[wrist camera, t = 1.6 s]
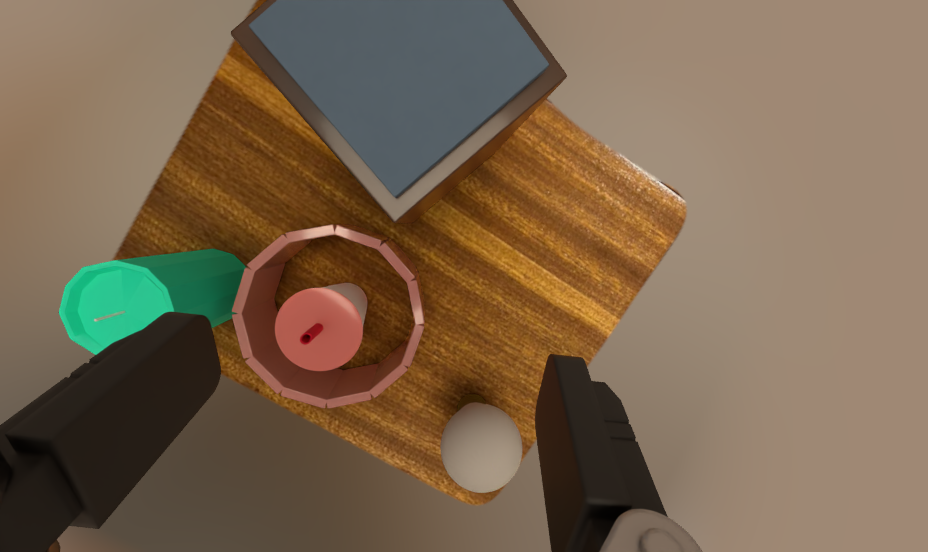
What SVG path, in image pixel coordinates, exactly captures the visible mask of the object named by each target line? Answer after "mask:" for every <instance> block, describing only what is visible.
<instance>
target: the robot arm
mask: <svg viewBox="0 0 928 552" xmlns="http://www.w3.org/2000/svg"><path fill="white" fill-rule="evenodd" d="M220 375H221V366H220V362H219V357H218V353H217V349H216V344H215V340H214V336H213V331H212V327H211V323H210V321H209V319H208V318H207V317H206V316H204V315H198V314H189V313H180V312H166V313H164V314H162V315H161V316H159V317H158V318H157V319H156V320H154V321H153V322H152V323H150V324H149V325H148V326H146V327H145V328H144V329H142V330H141V331H138V332H135V333H133V334H131V335H129V336H127V337H125V338H122V339H120V340H118V341H116V342H114V343H112V344H110V345H109V346H108V347H106V348H105V349H104V350H102V351H101V352H99V353H98V354H97V355H95V356H94V357H93V358H91V359H90V362H89V363H84V364H83V365H82V366H80V367H79V368H78V369H76V370H75V371H74V372H72V373H71V376H70V377H69V378H67V377H65V378H64V379H63V380H61V381H60V382H59V383H57V384H56V385H55V386H53V387H52V388H51V389H49V390H48V391H46V392H45V393H44V394H42V395H41V396H40V397H38V398H37V399H36V400H34V401H33V402H31V403H30V404H29V405H27V406H26V407H25V408H23V409H22V410H20V411H19V412H18V413H16V414H15V415H14V416H12V417H11V418H9V419H8V420H7V421H6V422H4V423H3V424H1V425H0V552H60V545H59V542H58V541H57V538H58V537H59V536H60V535H61V534H62V533H63V532H64V531H65V530H66V529H67V527H68V526H77V527H86V528H95V529H99V528H100V527H101V526H102V524H103V523H104V522H105V521H106V520H107V519H108V517H109V516H110V515H111V514H112V513H113V511H114V510H115V509H116V508H117V507H118V505H119V504H120V503H121V502H122V501H123V500H124V498H125V497H126V496H127V495H128V494H129V492H130V491H131V490H132V489H133V488H134V487H135V485H136V484H137V483H138V482H139V481H140V479H141V478H142V477H143V476H144V475H145V473H146V472H147V471H148V470H149V469H150V467H151V466H152V465H153V464H154V463H155V462H156V460H157V459H158V458H159V457H160V456H161V454H162V453H163V452H164V451H165V450H166V449H167V447H168V446H169V445H170V444H171V443H172V441H173V440H174V439H175V438H176V437H177V436H178V434H179V433H180V432H181V431H182V430H183V428H184V427H185V426H186V425H187V423H188V422H189V421H190V420H191V419H192V418H193V417H194V415H195V414H196V413H197V412H198V411H199V409H200V408H201V407H202V406H203V405H204V403H205V402H206V401H207V400H208V399H209V398H210V396H211V395H212V394H213V393H214V391H215V389H216V387H217V385H218V383H219V379H220ZM535 429H536V437H537V445H538V452H539V460H540V467H541V475H542V482H543V490H544V498H545V505H546V513H547V521H548V528H549V536H550V543H551V550H552V552H702V550H701V549H700V547H699V546H698V544H697V543H696V541H695V540H694V539H693V538H692V537H691V536H690V535H689V534H688V532H687V531H685V530H684V529H683V528H682V527H681V526H680V525H678V524H677V523H676V522H674V521H673V520H671V519H670V518H668V516H667V514H666V512H665V510H664V508H663V505H662V502H661V500H660V497H659V495H658V492H657V490H656V488H655V485H654V482H653V480H652V477H651V475H650V472H649V470H648V467H647V465H646V462H645V460H644V457H643V455H642V452H641V450H640V447H639V445H638V442H636V441H635V438H636V437H635V435H634V432H633V430H632V427H631V425H630V424H629V420H628V417H627V415H626V412H625V410H624V407H623V405H622V402H621V400H620V399H619V398H618V397H617V396H616V395H615V393H614V392H613V391H612V390H611V389H610V388H609V387H608V385H607V384H606V383H604V382H595V381H591V378H590V375H589V372H588V369H587V366H586V363H585V361H584V359H583V358H581V357H572V356H563V355H554V354H550V355H549V357H548V359H547V362H546V367H545V371H544V375H543V379H542V383H541V387H540V391H539V396H538V400H537V405H536V413H535Z"/></svg>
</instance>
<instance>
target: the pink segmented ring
mask: <svg viewBox="0 0 928 552" xmlns="http://www.w3.org/2000/svg"><path fill="white" fill-rule="evenodd" d="M334 235H337V236H340V237H343V238H346V239H348V240H351V241H354V242H357V243H360V244H363V245H366V246H369V247H371V248H374V249H377V250H378V251H379V252H380V253H381V254H382V255H383V256H384V257H385V259H386V260H387V261H388V262H389V263H390V264H391V265H392V267H393V268H394V269H395V270H396V271H397V272H398V273H399V274H400V276H401V277H402V278H403V279H404V280H405V281H406V282H407V286H408V291H409V296H410V301H411V306H412V311H413V316H414V318H413V321H412V324H411V326H410V329H409V332H408V335H407V338H406V340H405V341H404V342H403V343H402V344H401V345H400V346H398V347H397V348H396V349H395V350H394V351H392V352H391V353H390V354H389V355H388V356H387V357H385V358H384V359H383V360H382V361H381V362H379V363H377V364H372V365H367V366H362V367H357V368H352V369H347V370H341V369H338V368H335V369H332V370H328V371H312V370H307V369H304V368H302V367H299V366H298V365H296V364H294V363H293V362H291V361H290V360H289V359H288V358H287V357H286V356H285V355H284V354H283V352H282V351H281V349H280V347H279V345H278V343H277V340H276V336H275V322H276V317H277V315H278V311H277V307H276V303H275V299H274V297H275V294H276V291H277V288H278V285H279V281H280V278H281V275H282V272H283V269H284V266H285V263H286V262H287V261H289V260H290V259H291V258H292V257H293V256H294V255H296V254H297V253H298V252H299V251H300V250H301V249H303V248H304V247H305V246H306V245H307V244H308V243H310V242H311V241H312V240H313V239H318V238H323V237H329V236H334ZM247 265H248V266H249V267H246V268H245V269H244V273H243V276H242V279H241V282H240V286H239V289H238V292H237V295H236V298H235V302H234V305H233V308H232V312H235V313H234V314H232V318H233V322H234V326H235V330H236V333H237V337H238V341H239V345H240V348H241V352H242V356H243V358H248V359H247V360H246V361H245V362H246V363H247V364H248V365H249V366H250V367H251V368H252V369H253V370H254V371H255V372H256V373H257V374H258V375H259V376H260V377H261V378H262V379H263V380H264V381H265V382H266V383H267V384H268V385H269V386H270V387H271V388H272V389H273V390H274V391H275V392H276V393H277V394H278V393H279V392H280V391H282V392H281V396H283V397H287V398H290V399H294V400H297V401H301V402H304V403H307V404H311V405H314V406H318V407H321V408H325V406H326V405H327V407H328V408H333V407H338V406H343V405H348V404H352V403H357V402H362V401H367V400H371V399H372V397H374V398H376V397H377V396H378V395H379V394H380V393H382V392H383V391H384V390H385V389H386V388H387V387H389V386H390V385H391V384H392V383H393V382H395V381H396V380H397V379H398V378H399V377H400V376H402V375H403V374H404V373H405V372H406V371H408V367H410V366H411V363H412V361H413V358H414V355H415V352H416V349H417V347H418V344H419V341H420V338H421V335H422V333H423V330H424V323H425V302H424V297H423V292H422V287H421V281H420V276H419V271H416V269H417V267H416V266H415V265H414V264H413V263H412V261H411V260H410V259H409V258H408V257H407V256H406V255H405V253H404V252H403V251H402V250H401V249H400V248H399V247H398V245H397V244H396V243H395V242H394V241H393V240H389V237H387V236H384V235H381V234H378V233H376V232H373V231H370V230H367V229H364V228H361V227H359V226H356V225H350V224H332V225H326V226H320V227H315V228H309V229H303V230H298V231H292V232H286V234H282V235H281V236H280V237H279V238H277V239H276V240H275V241H274V242H273V243H272V244H270V245H269V246H268V247H267V248H266V249H265V250H263V251H262V252H261V253H260V254H259V255H258V256H256V257H255V258H254V259H253V260H252V261H251V262H249V263H248V264H247Z"/></svg>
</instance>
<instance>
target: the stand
mask: <svg viewBox="0 0 928 552" xmlns="http://www.w3.org/2000/svg"><path fill="white" fill-rule="evenodd" d="M276 1H277V0H267V1H266V2H264V3H263V4H262V5H261V6H260V7H259V8H258V9H256V10H255V11H254V12H253V13H252V14H251V15H250V16H248V17H247V18H246V19H245V20H244V21H243V22H242V23H240V24H239V25H238V26H237V27H236V28H235V29H234V30H232V31H231V35H232V36H233V38H234V39H235V40H236V41H237V42H238V43H239V45H240V46H241V47H242V48H243V49H244V50H245V52H246V53H247V54H248V55H249V56H250V57H251V58H252V60H253V61H254V62H255V63H256V64H257V65H258V67H259V68H260V69H261V70H262V71H263V72H264V73H265V75H266V76H267V77H268V78H269V79H270V80H271V82H272V83H273V84H274V85H275V86H276V87H277V89H278V90H279V91H280V92H281V93H282V94H283V95H284V97H285V98H286V99H287V100H288V101H289V102H290V104H291V105H292V106H293V107H294V108H295V109H296V111H297V112H298V113H299V114H300V115H301V116H302V117H303V119H304V120H305V121H306V122H307V123H308V124H309V126H310V127H311V128H312V129H313V130H314V131H315V132H316V134H317V135H318V136H319V137H320V138H321V139H322V141H323V142H324V143H325V144H326V145H327V146H328V148H329V149H330V150H331V151H332V152H333V153H334V154H335V156H336V157H337V158H338V159H339V160H340V161H341V163H342V164H343V165H344V166H345V167H346V168H347V170H348V171H349V172H350V173H351V174H352V175H353V176H354V178H355V179H356V180H357V181H358V182H359V183H360V185H361V186H362V187H363V188H364V189H365V190H366V191H367V193H368V194H369V195H370V196H371V197H372V198H373V200H374V201H375V202H376V203H377V204H378V205H379V207H380V208H381V209H382V210H383V211H384V212H385V213H386V215H387V216H388V217H389V218H390V219H391V220H392V222H394V223H413V222H414V221H416V220H417V219H418V218H419V217H420V216H421V215H423V214H424V213H425V212H426V211H427V210H428V209H430V208H431V207H432V206H433V205H434V204H436V203H437V202H438V201H439V200H440V199H441V198H443V197H444V196H445V195H446V194H447V193H448V192H450V191H451V190H452V189H453V188H454V187H455V186H457V185H458V184H459V183H460V182H461V181H462V180H464V179H465V178H466V177H467V176H468V175H470V174H471V173H472V172H473V171H474V170H475V169H477V168H478V167H479V166H480V165H481V164H482V163H484V162H485V161H486V160H487V159H488V158H489V157H491V156H492V155H493V154H494V153H495V152H496V151H497V150H498V149H499V148H500V147H501V146H502V145H503V144H504V143H505V141H506V140H507V139H508V138H509V137H510V136H511V135H512V134H513V133H514V132H515V131H516V130H517V129H518V128H519V127H520V126H521V125H522V124H523V123H524V121H525V120H526V119H527V118H528V117H529V116H530V115H531V114H532V113H533V112H534V111H535V110H536V109H537V108H538V107H539V106H540V105H541V104H542V103H543V101H544V100H545V99H546V98H547V97H548V96H549V95H550V94H551V93H552V92H553V91H554V90H555V89H556V88H557V87H558V86H559V85H560V84H561V83H562V82H563V80H564V79H565V78H566V77H567V75H566V73H565V72H564V70H563V69H562V67H561V66H560V65H559V63H558V62H557V61H556V60H555V58H554V56H553V55H552V54H551V52H550V51H549V50H548V48H547V47H546V45H545V44H544V43H543V41H542V40H541V39H540V37H539V36H538V35H537V33H536V32H535V30H534V29H533V28H532V26H531V25H530V24H529V22H528V21H527V19H526V18H525V16H524V15H523V14H522V12H521V11H520V10H519V8H518V7H517V5H516V4H515V3H514V1H513V0H503V1H504V3H505V4H506V6H507V7H508V8H509V10H510V11H511V12H512V14H513V15H514V16H515V18H516V19H517V21H518V22H519V23H520V25H521V26H522V27H523V29H524V30H525V32H526V33H527V34H528V36H529V37H530V38H531V40H532V41H533V43H534V44H535V45H536V47H537V48H538V49H539V51H540V52H541V53H542V55H543V56H544V58H545V59H546V60H547V62H548V63H549V66H548V67H547V69H546V70H545V71H544V73H543V74H541V75H540V76H539V77H538V78H537V79H535V80H534V81H533V82H532V83H531V84H530V85H528V86H527V87H526V88H525V89H524V90H523V91H521V92H520V93H519V94H518V95H517V96H516V97H514V98H513V99H512V100H511V101H510V102H509V103H507V104H506V105H505V106H504V107H503V108H502V109H500V110H499V111H498V112H497V113H496V114H495V115H493V116H492V117H491V118H490V119H489V120H488V121H486V122H485V123H484V124H483V125H482V126H480V127H479V128H478V129H477V130H476V131H475V132H473V133H472V134H471V135H470V136H469V137H468V138H466V139H465V140H464V141H463V142H462V143H461V144H459V145H458V146H457V147H456V148H455V149H454V150H452V151H451V152H450V153H449V154H448V155H447V156H445V157H444V158H443V159H442V160H441V161H440V162H438V163H437V164H436V165H435V166H434V167H433V168H431V169H430V170H429V171H428V172H427V173H425V174H424V175H423V176H422V177H421V178H420V179H418V180H417V181H416V182H415V183H414V184H413V185H411V186H410V187H409V188H408V189H407V190H406V191H404V192H403V193H402V194H401V195H400V196H399V197H397V198H395V197H394V196H393V195H392V194H391V193H390V192H389V190H388V189H387V188H386V187H385V186H384V185H383V183H382V182H381V181H380V180H379V179H378V178H377V176H376V175H375V174H374V173H373V172H372V171H371V169H370V168H369V167H368V166H367V165H366V164H365V162H364V161H363V160H362V159H361V158H360V156H359V155H358V154H357V153H356V152H355V151H354V149H353V148H352V147H351V146H350V145H349V144H348V142H347V141H346V140H345V139H344V138H343V137H342V135H341V134H340V133H339V132H338V131H337V130H336V128H335V127H334V126H333V125H332V124H331V123H330V121H329V120H328V119H327V118H326V117H325V115H324V114H323V113H322V112H321V111H320V110H319V108H318V107H317V106H316V105H315V104H314V103H313V101H312V100H311V99H310V98H309V97H308V96H307V94H306V93H305V92H304V91H303V90H302V89H301V87H300V86H299V85H298V84H297V83H296V81H295V80H294V79H293V78H292V77H291V76H290V74H289V73H288V72H287V71H286V70H285V69H284V67H283V66H282V65H281V64H280V63H279V62H278V60H277V59H276V58H275V57H274V56H273V55H272V53H271V52H270V51H269V50H268V49H267V47H266V46H265V45H264V44H263V43H262V42H261V40H260V39H259V38H258V37H257V36H256V35H255V33H254V32H253V31H252V30H251V29H250V28H249V24H250V23H252V22H253V21H254V20H255V19H256V18H257V17H258V16H260V15H261V14H262V13H263V12H264V11H265V10H266V9H268V8H269V7H270V6H271V5H272V4H273V3H274V2H276Z"/></svg>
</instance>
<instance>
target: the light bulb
mask: <svg viewBox="0 0 928 552" xmlns="http://www.w3.org/2000/svg"><path fill="white" fill-rule="evenodd" d="M441 456H442V461H443V464H444V466H445V469H446V470H447V472H448V474H449V475H450V476H451V478H452V479H453V480H454V481H455V482H456V483H457V484H458V485H460V486H461V487H463V488H465V489H467V490H470V491H473V492H479V493H485V492H491V491H495V490H497V489H499V488H501V487H503V486H504V485H506V484H507V483H508V482H509V481H510V480H511V479H512V478H513V476H514V475H515V473H516V472H517V470H518V468H519V465H520V462H521V457H522V441H521V436H520V433H519V430H518V428H517V426H516V425H515V423H514V422H513V420H512V419H511V418H510V417H509V416H508V415H507V414H506V413H505V412H504V411H502V410H501V409H499V408H497V407H495V406H491V405H488V404H486V402H485V400H484V399H483V398H482V397H481V396H479V395H476V394H469V395H466V396H464V397H463V398H462V399H461V400H460V401H459V403H458V406H457V413H455V414H454V415H453V416H452V417H451V419H450V420H449V421H448V423H447V425H446V427H445V429H444V431H443V434H442V439H441Z"/></svg>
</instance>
